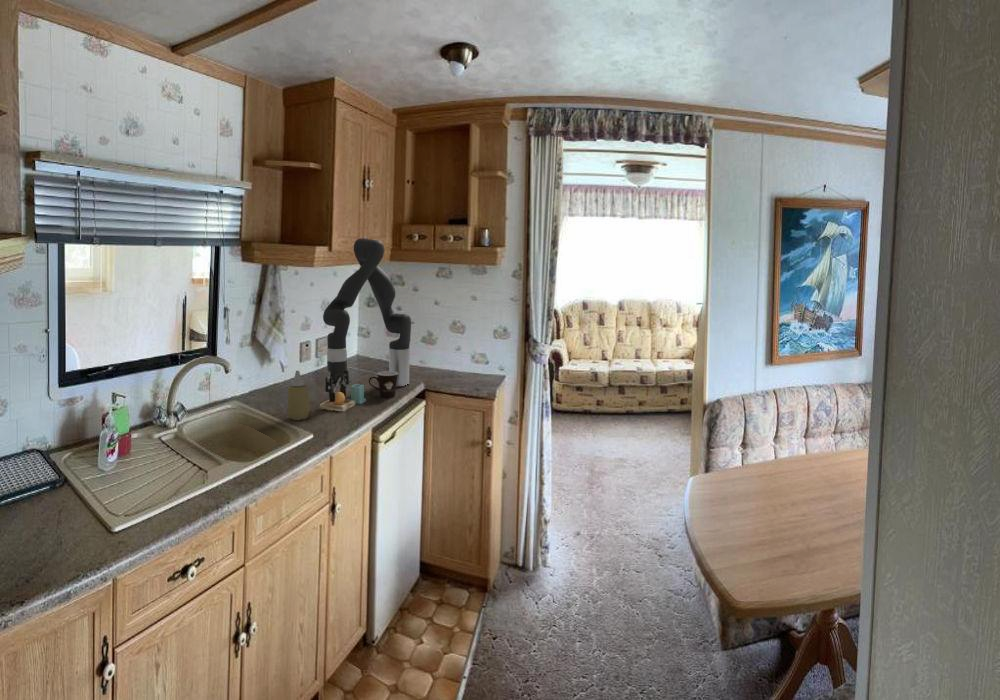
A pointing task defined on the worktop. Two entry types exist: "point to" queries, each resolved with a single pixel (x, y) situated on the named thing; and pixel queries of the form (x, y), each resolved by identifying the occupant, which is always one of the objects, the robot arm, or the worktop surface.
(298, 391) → the squeeze bottle
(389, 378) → the coffee mug
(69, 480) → the worktop surface
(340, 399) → the ball
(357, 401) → the teal box
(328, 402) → the tray
